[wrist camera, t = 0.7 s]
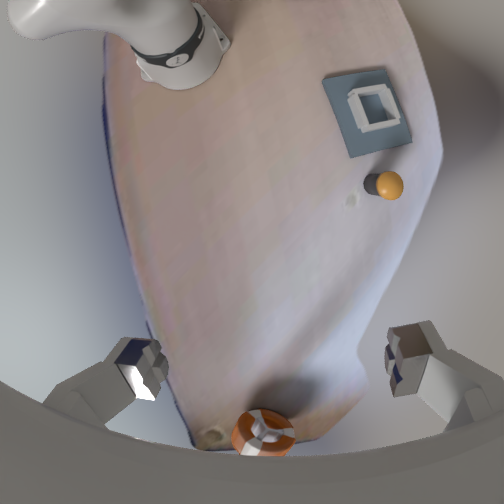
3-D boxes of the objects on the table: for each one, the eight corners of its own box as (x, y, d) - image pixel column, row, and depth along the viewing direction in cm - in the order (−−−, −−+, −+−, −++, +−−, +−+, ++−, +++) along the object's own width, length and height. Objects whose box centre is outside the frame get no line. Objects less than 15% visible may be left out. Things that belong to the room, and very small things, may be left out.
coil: (239, 401, 64) (235, 446, 49) (295, 413, 64) (300, 456, 50) (232, 418, 65) (227, 460, 51) (285, 428, 66) (288, 470, 51)
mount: (321, 81, 45) (326, 73, 40) (382, 71, 44) (391, 63, 39) (350, 158, 49) (358, 156, 44) (409, 143, 47) (421, 140, 42)
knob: (358, 175, 50) (375, 175, 41) (379, 169, 49) (399, 168, 41) (365, 199, 51) (382, 203, 42) (386, 193, 50) (406, 196, 42)
